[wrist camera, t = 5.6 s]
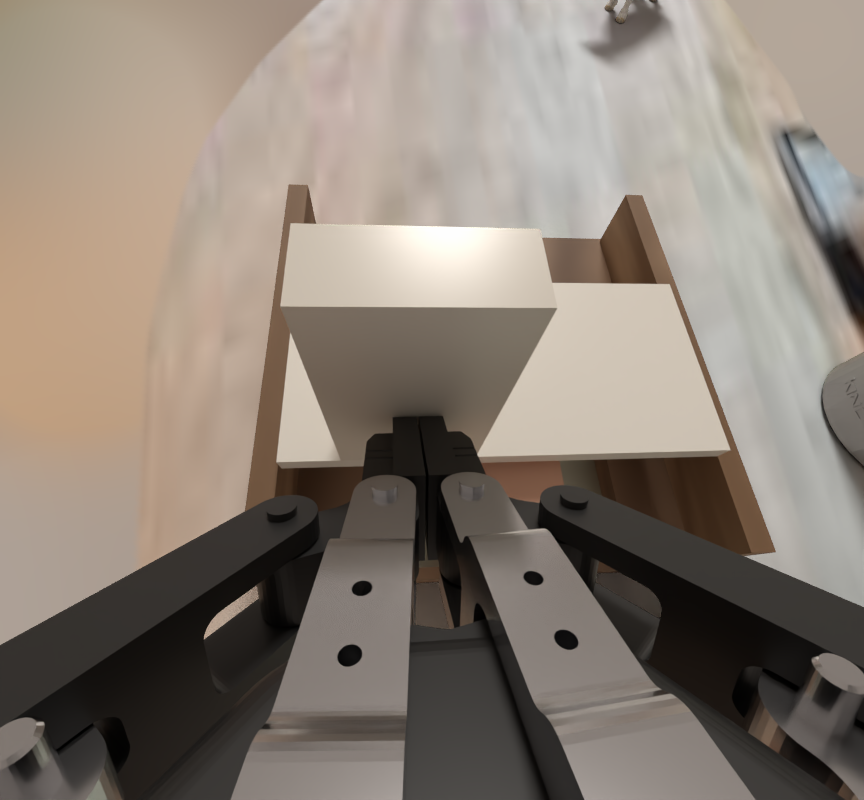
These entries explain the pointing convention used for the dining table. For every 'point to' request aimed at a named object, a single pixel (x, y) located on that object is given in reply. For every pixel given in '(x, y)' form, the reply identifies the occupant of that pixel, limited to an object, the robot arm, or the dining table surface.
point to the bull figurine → (624, 10)
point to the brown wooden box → (612, 478)
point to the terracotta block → (525, 477)
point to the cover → (480, 351)
